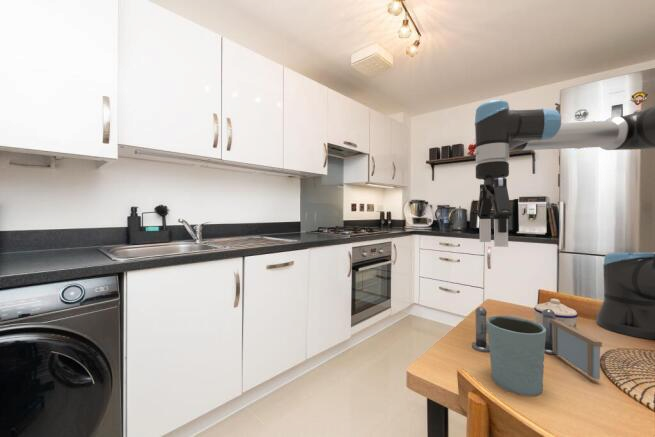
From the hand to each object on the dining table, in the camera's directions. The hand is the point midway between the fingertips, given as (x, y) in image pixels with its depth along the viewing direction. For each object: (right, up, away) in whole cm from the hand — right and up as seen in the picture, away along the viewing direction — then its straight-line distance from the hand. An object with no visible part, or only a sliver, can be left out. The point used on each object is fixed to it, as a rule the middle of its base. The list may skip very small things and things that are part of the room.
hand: (492, 244), depth 73 cm
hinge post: (+13, -27, -3) cm, 30 cm away
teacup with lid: (+19, -27, +3) cm, 33 cm away
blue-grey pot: (-5, -27, -16) cm, 32 cm away
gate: (+12, -26, -11) cm, 30 cm away
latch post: (-4, -27, -1) cm, 27 cm away
